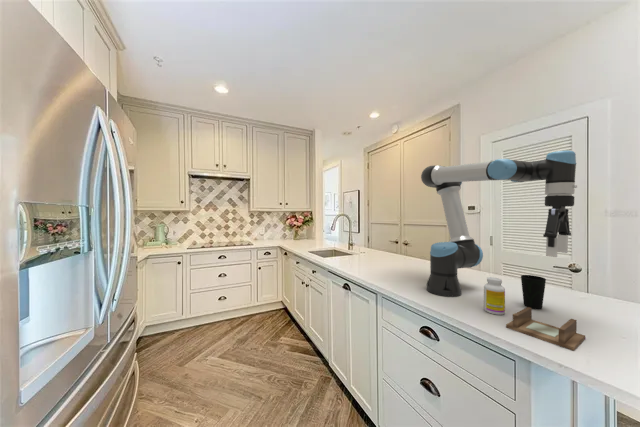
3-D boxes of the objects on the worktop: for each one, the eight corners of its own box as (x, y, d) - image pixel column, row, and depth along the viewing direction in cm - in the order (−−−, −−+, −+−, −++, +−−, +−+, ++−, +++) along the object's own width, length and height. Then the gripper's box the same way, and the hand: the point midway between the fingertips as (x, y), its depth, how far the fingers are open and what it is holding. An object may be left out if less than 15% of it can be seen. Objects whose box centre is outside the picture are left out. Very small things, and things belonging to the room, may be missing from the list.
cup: (550, 311, 94) (550, 280, 94) (528, 309, 96) (528, 279, 95) (537, 303, 102) (537, 275, 101) (516, 302, 103) (516, 274, 103)
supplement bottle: (508, 316, 90) (508, 281, 89) (488, 314, 91) (488, 280, 91) (499, 309, 96) (499, 276, 96) (480, 307, 98) (481, 275, 98)
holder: (505, 327, 81) (506, 312, 81) (520, 318, 87) (520, 305, 87) (573, 350, 67) (573, 332, 67) (585, 338, 74) (585, 322, 74)
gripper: (564, 193, 76) (562, 260, 77) (582, 196, 90) (580, 252, 91) (534, 194, 83) (531, 256, 83) (555, 196, 97) (553, 249, 97)
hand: (557, 254), depth 87 cm, fingers open, 13 cm apart
